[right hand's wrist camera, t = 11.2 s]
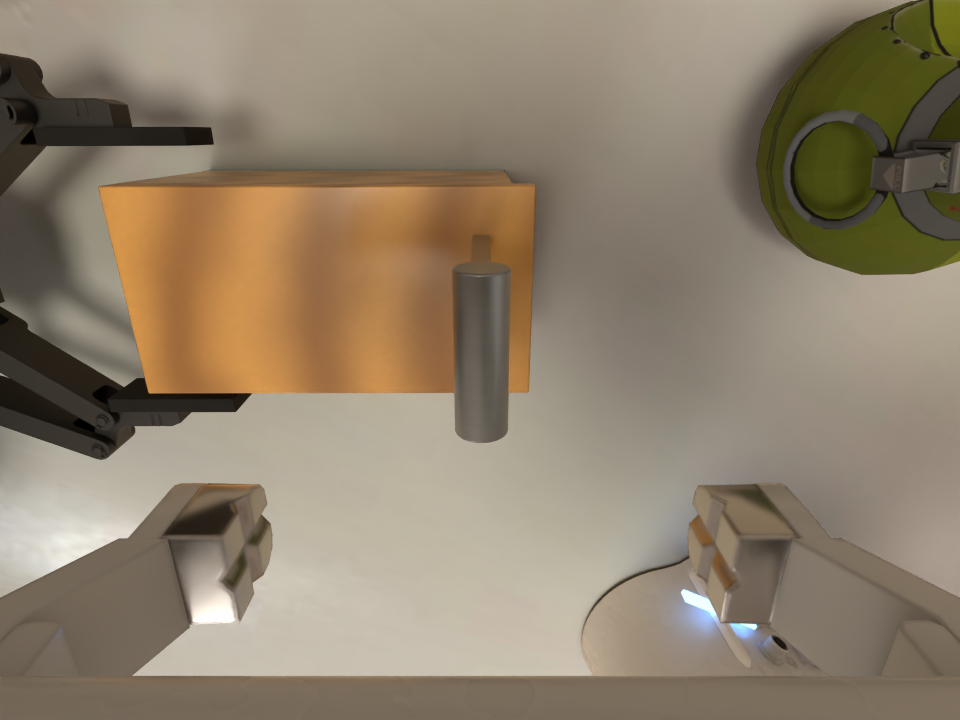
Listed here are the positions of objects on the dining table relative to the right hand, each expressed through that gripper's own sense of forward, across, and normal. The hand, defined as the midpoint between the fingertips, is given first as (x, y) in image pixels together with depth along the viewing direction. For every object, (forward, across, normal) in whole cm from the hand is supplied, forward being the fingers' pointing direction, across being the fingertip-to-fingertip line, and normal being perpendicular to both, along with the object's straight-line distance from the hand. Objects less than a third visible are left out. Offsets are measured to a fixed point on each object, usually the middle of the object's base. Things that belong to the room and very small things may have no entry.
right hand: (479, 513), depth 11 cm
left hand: (+19, +13, 0) cm, 23 cm away
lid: (+16, +7, 0) cm, 18 cm away
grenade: (+26, -19, -6) cm, 33 cm away
